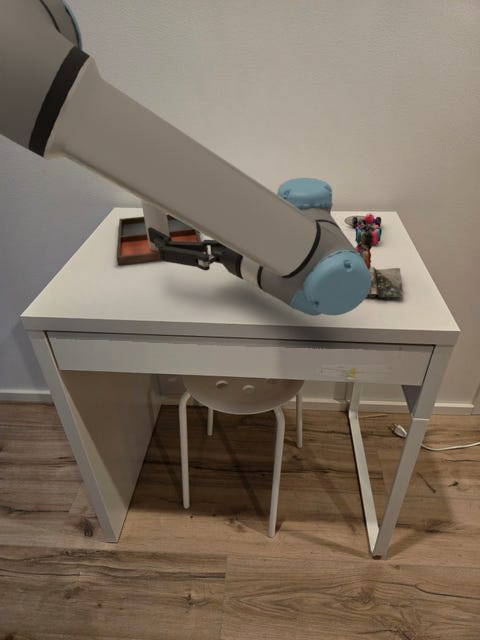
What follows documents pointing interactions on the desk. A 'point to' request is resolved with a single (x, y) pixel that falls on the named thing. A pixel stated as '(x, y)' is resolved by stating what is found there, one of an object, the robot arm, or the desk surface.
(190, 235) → the sorting tray
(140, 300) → the desk surface
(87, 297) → the desk surface
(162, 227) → the beverage can
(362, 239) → the statue
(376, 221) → the toy car
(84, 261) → the desk surface
